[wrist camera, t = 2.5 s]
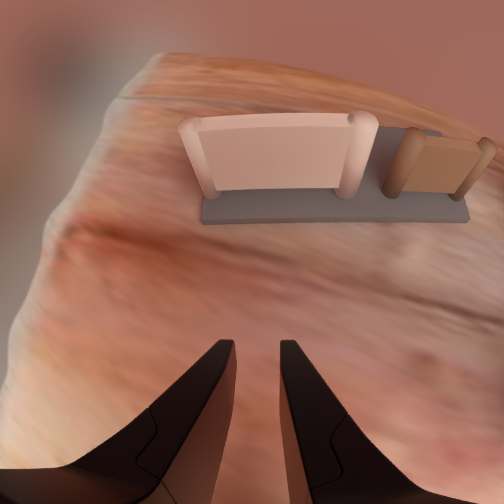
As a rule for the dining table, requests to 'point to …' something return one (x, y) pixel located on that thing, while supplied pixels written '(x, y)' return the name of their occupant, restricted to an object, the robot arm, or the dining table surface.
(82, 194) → the dining table surface
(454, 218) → the board
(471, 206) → the dining table surface
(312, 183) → the fence gate
